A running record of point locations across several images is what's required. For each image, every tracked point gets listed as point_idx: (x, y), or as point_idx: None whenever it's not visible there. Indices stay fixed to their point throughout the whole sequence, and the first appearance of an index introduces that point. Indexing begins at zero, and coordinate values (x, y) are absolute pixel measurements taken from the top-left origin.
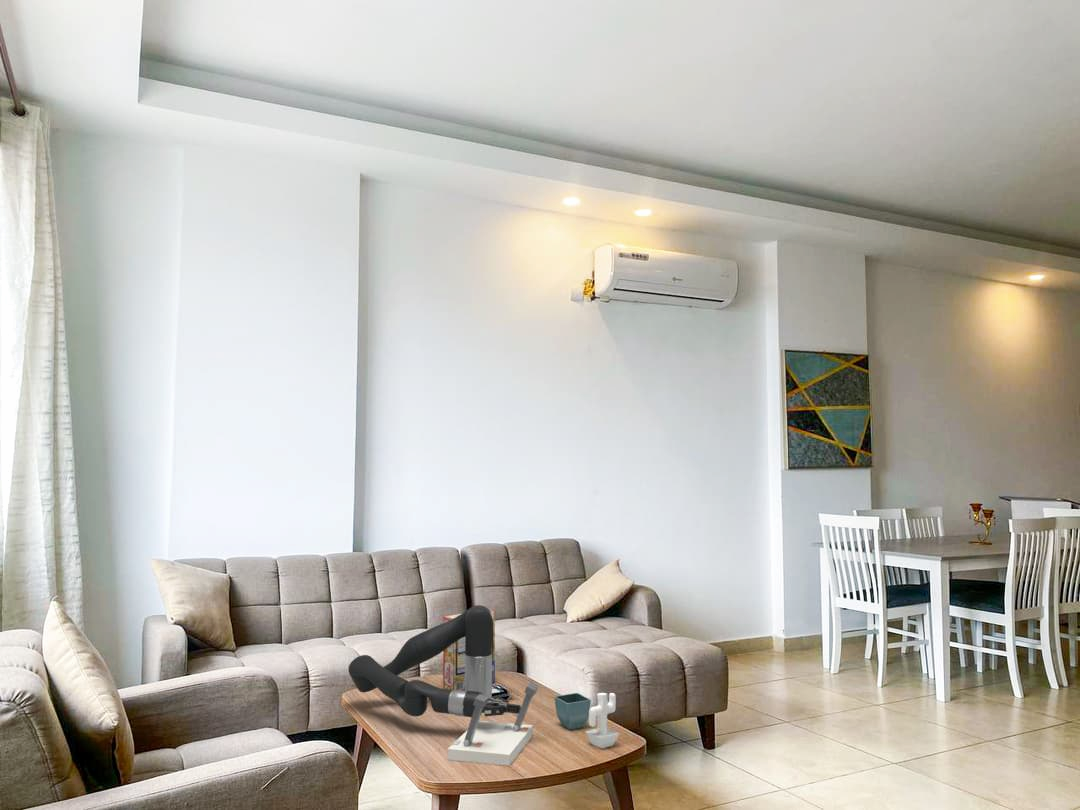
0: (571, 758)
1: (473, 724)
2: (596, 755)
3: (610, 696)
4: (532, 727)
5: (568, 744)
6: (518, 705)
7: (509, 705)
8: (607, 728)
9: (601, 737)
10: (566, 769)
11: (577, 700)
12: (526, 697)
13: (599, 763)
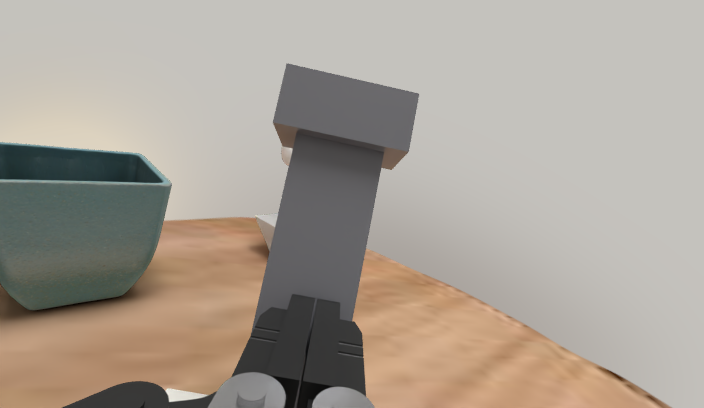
0: (431, 314)
1: None
2: (380, 273)
3: None
4: (184, 399)
5: None
6: (313, 301)
7: (336, 370)
8: (269, 214)
9: None
10: (519, 329)
11: (5, 176)
12: (375, 190)
13: (429, 276)
